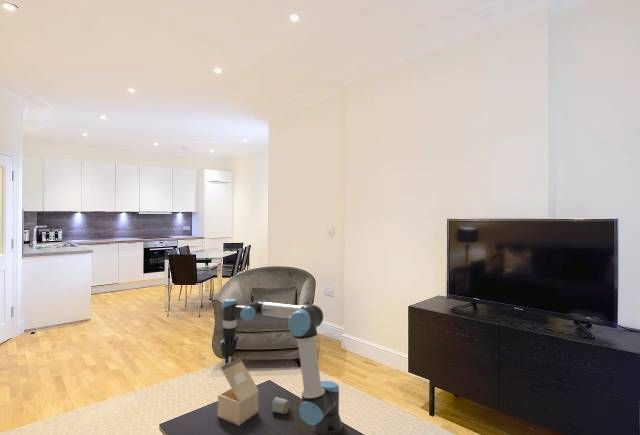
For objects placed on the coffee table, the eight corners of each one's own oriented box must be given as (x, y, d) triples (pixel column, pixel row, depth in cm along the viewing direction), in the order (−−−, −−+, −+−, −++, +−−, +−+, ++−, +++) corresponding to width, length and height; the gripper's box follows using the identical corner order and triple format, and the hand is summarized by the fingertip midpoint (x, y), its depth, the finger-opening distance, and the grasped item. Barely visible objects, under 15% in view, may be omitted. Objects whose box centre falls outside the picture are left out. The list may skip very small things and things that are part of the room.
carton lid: (258, 391, 198) (259, 390, 197) (239, 402, 185) (240, 401, 185) (239, 359, 205) (240, 358, 205) (220, 367, 193) (221, 366, 193)
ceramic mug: (284, 417, 194) (285, 402, 194) (271, 414, 196) (271, 400, 196) (291, 407, 204) (292, 394, 204) (278, 405, 206) (279, 392, 206)
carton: (258, 412, 198) (258, 391, 198) (238, 425, 185) (239, 403, 185) (237, 404, 206) (237, 384, 206) (217, 416, 193) (218, 394, 193)
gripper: (233, 322, 207) (231, 362, 207) (216, 328, 196) (214, 370, 196) (242, 325, 204) (241, 365, 204) (225, 330, 192) (224, 373, 192)
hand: (228, 367), depth 200 cm, fingers closed
